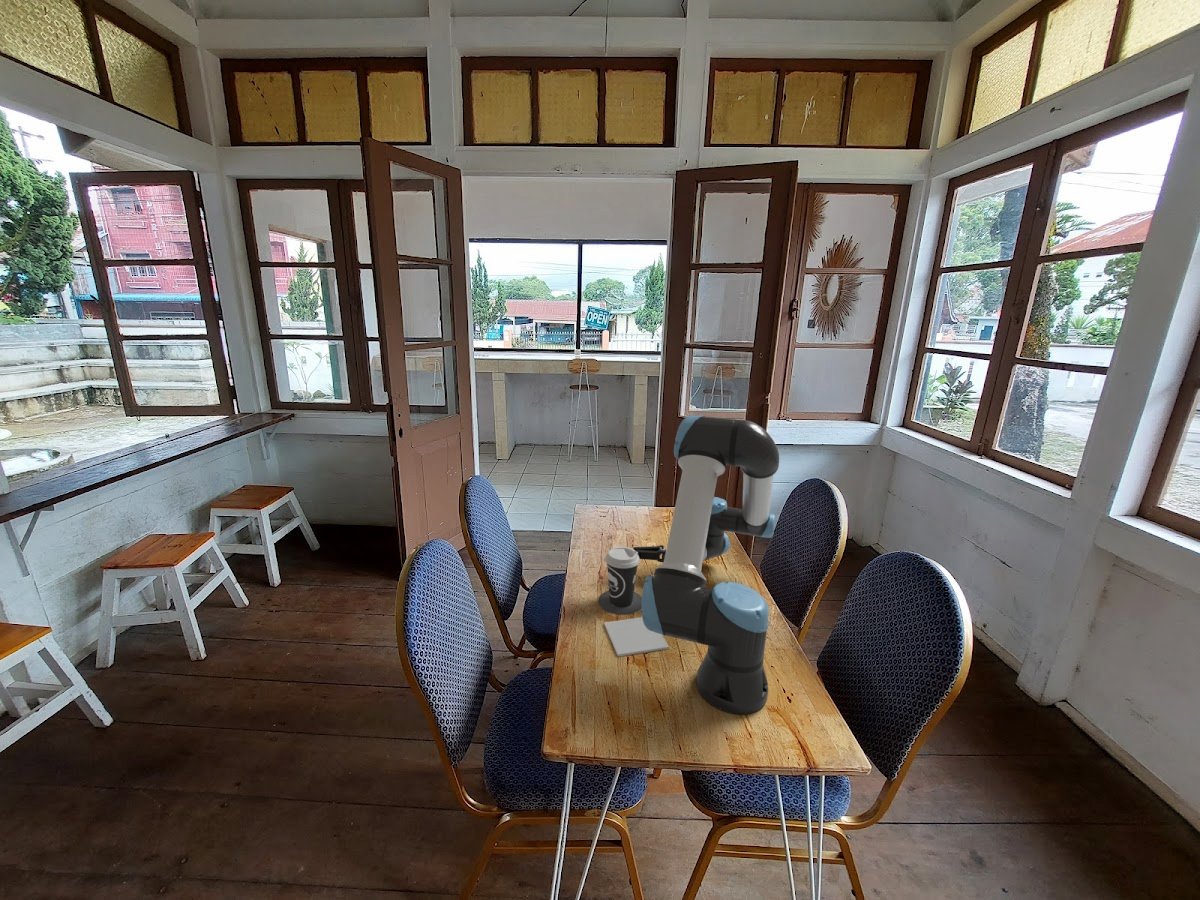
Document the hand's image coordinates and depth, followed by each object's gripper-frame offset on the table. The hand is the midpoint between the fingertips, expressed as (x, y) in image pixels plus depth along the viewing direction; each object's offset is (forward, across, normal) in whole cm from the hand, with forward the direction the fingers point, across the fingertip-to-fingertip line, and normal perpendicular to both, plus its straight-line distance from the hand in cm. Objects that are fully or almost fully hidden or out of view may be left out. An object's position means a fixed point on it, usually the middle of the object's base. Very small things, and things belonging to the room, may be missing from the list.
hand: (633, 571), depth 142 cm
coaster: (+4, 0, -8) cm, 9 cm away
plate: (+11, -15, -8) cm, 20 cm away
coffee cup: (+4, 0, -8) cm, 9 cm away
